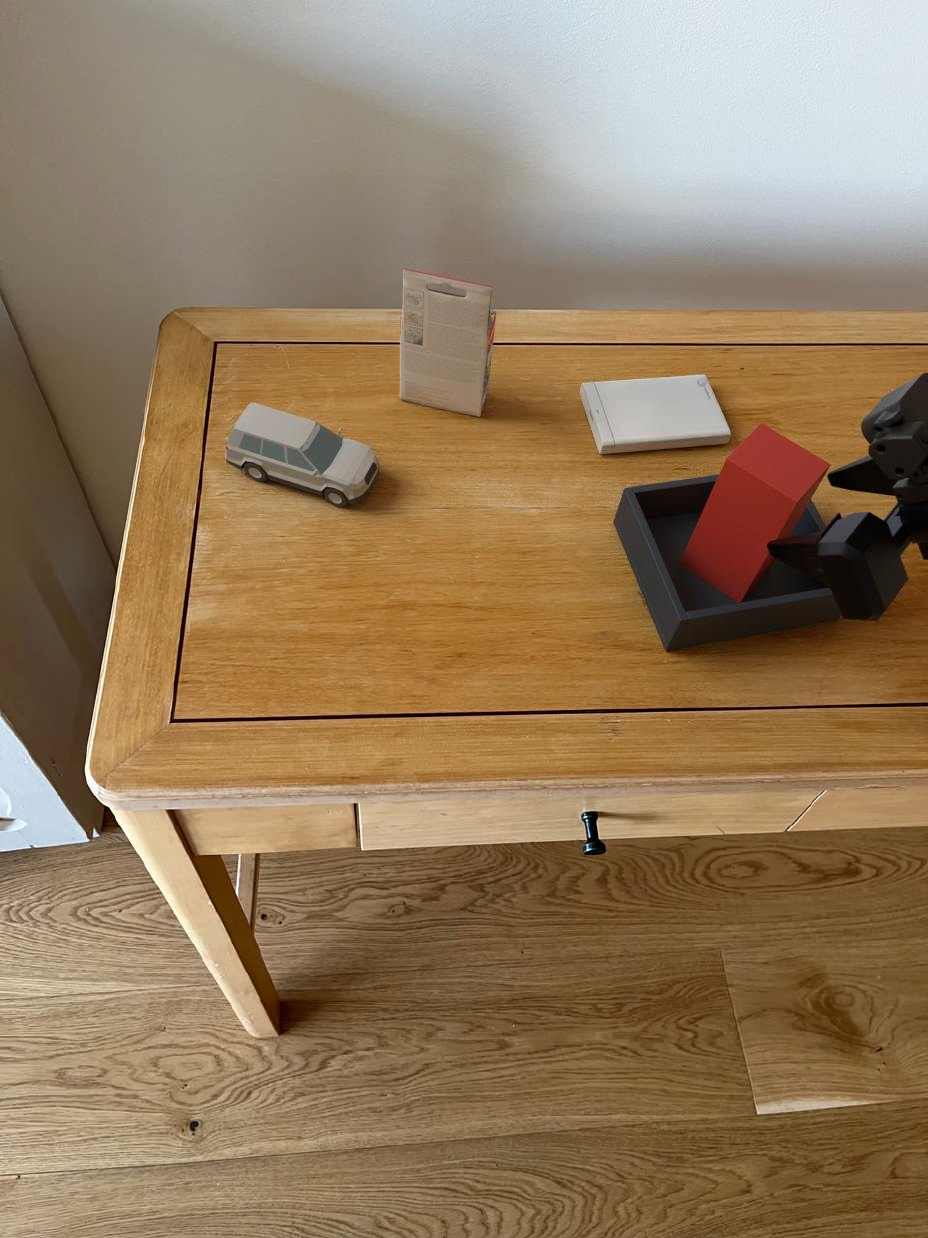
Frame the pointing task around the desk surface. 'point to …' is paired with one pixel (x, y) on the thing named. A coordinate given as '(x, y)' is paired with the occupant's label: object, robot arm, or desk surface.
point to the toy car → (301, 455)
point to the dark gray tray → (689, 605)
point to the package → (752, 510)
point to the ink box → (445, 343)
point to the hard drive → (653, 414)
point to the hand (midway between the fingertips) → (800, 512)
